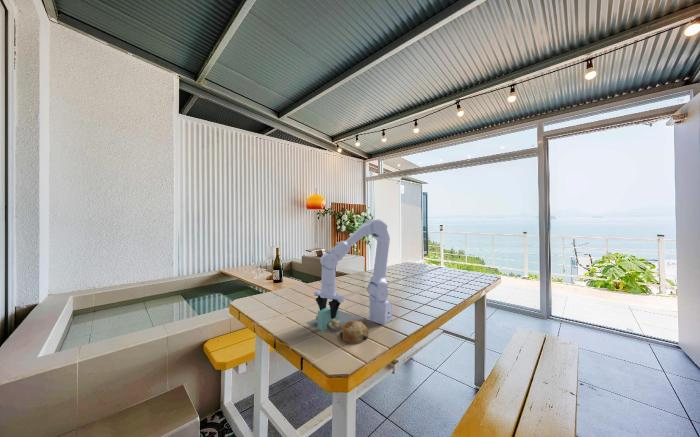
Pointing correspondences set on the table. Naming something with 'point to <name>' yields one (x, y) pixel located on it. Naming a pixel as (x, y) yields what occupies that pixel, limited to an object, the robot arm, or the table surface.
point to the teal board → (325, 317)
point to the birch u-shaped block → (332, 324)
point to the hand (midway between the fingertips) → (328, 316)
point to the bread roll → (354, 332)
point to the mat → (343, 318)
